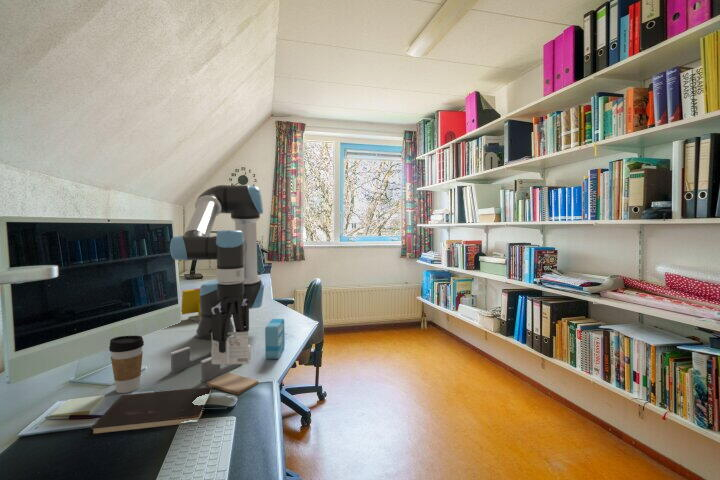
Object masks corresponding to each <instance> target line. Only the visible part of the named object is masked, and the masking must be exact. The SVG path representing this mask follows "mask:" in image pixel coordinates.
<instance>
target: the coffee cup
mask: <svg viewBox="0 0 720 480" xmlns="http://www.w3.org/2000/svg"><path fill="white" fill-rule="evenodd" d="M144 345H145V342H144V339H143V336H140V335H122V336H121V335H120V336H117V337H113V338H111V339H110V341H109V346H108V347H109V348H108V350H109V352H111V353H110V354H111V357H110V360H111V367H112V372H113V379H114V387H115V392H116V393H117V394H126V393H127V394H128V393H131V392H134V391H136V390H138V389H139V388H140V386H141V378H142V377H141V376H142V367H143V366H142V365H143V364H142V363H143V346H144Z"/></svg>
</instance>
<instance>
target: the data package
mask: <svg viewBox="0 0 720 480" xmlns="http://www.w3.org/2000/svg"><path fill="white" fill-rule="evenodd" d="M264 330H265V331H264V335H265V341H264V343H265V344H264V346H265V349H264V351H265V359H266V360H279V359H280V357H281V355H282V354H283V352H284V350H285V346H286V345H285V344H286V343H285V341H286V340H285V319H284V318H271V320H270V321H269V322H268V323H267V324H266V326H265V328H264Z"/></svg>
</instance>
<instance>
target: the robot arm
mask: <svg viewBox="0 0 720 480" xmlns="http://www.w3.org/2000/svg"><path fill="white" fill-rule="evenodd" d="M261 193H262V192H261V190H260V188H259V187H258V186H255V185H238V184H237V185H235V184H234V185H232V184H231V185H226V184H220V185H216V186H211V187H210V188H208V189H207V190H205V191H203V192H202V193H201V194H200V195H198V197H197V199H196V201H195V203H194V207H195V210H194V212H193V214H192V215H191V218H190V220H189V223H188V225H187V227H186V229H185V232H184V234H183V235H178V236H173V237H172V238H171V239H170V245H169V250H170V255H171V258H172V259H173V260H175V261H185V262H186V261H200V260H201V261H203V260H205V261H206V260H207V261H209V260H213V261H214V260H216V280H212V281H211V280H210V281H208V282H207V281H206V282H205V283H203V284H201V285H200V287H199V288H200V313H201V318H200V321H199V322H198V326H197V328H196V337H197V338H198V339H201V340H211V341H212V340H214V341H218V342H219V352H220V353H221V362H222V363H226V364H225V365H228V363H229V341H227V338H228V337H230V336H232V335H231V334H229V335H227V334H228V332H248V333H249V331H250V310H252V309H259V308H261V307H262V305H263V300H264V299H263V297H264V290H265V281H262V277H261V276H260V275H259V274H258V251H257V250H258V245H257V243H258V242H257V241H258V240H257V239H258V237H257V235H258V234H257V222H258V220H259V219H260V218H261V215H262V214H264V208H263V207H264V206H263V200H262V195H261ZM220 214H230V219H231V220H232V221H233V222H234V226H235V227H234V230H232V229H230V230H229V229H228V230H218V231H217V232H216V235H211V232H212V229H213V227H214V224H215V220H216V217H218V216H219V215H220ZM231 318H232V319H231ZM232 321H233V322H232ZM233 323H234V324H233ZM234 328H235V329H234ZM234 330H235V331H234ZM211 332H212V337H211ZM233 338H236V337H235V336H233Z"/></svg>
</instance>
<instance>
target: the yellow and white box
mask: <svg viewBox="0 0 720 480" xmlns="http://www.w3.org/2000/svg"><path fill="white" fill-rule="evenodd" d="M181 312H182V314H181V315H188V314H194V313H195V314H196V313H197V315H191V316H188V317H187V318H188V320H191V321H194V322H198V321H199V322H200V318H201V313H200V287H198V288H197V287H196V288H193V289H184V290H182V296H181ZM181 312H180V313H181Z"/></svg>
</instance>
